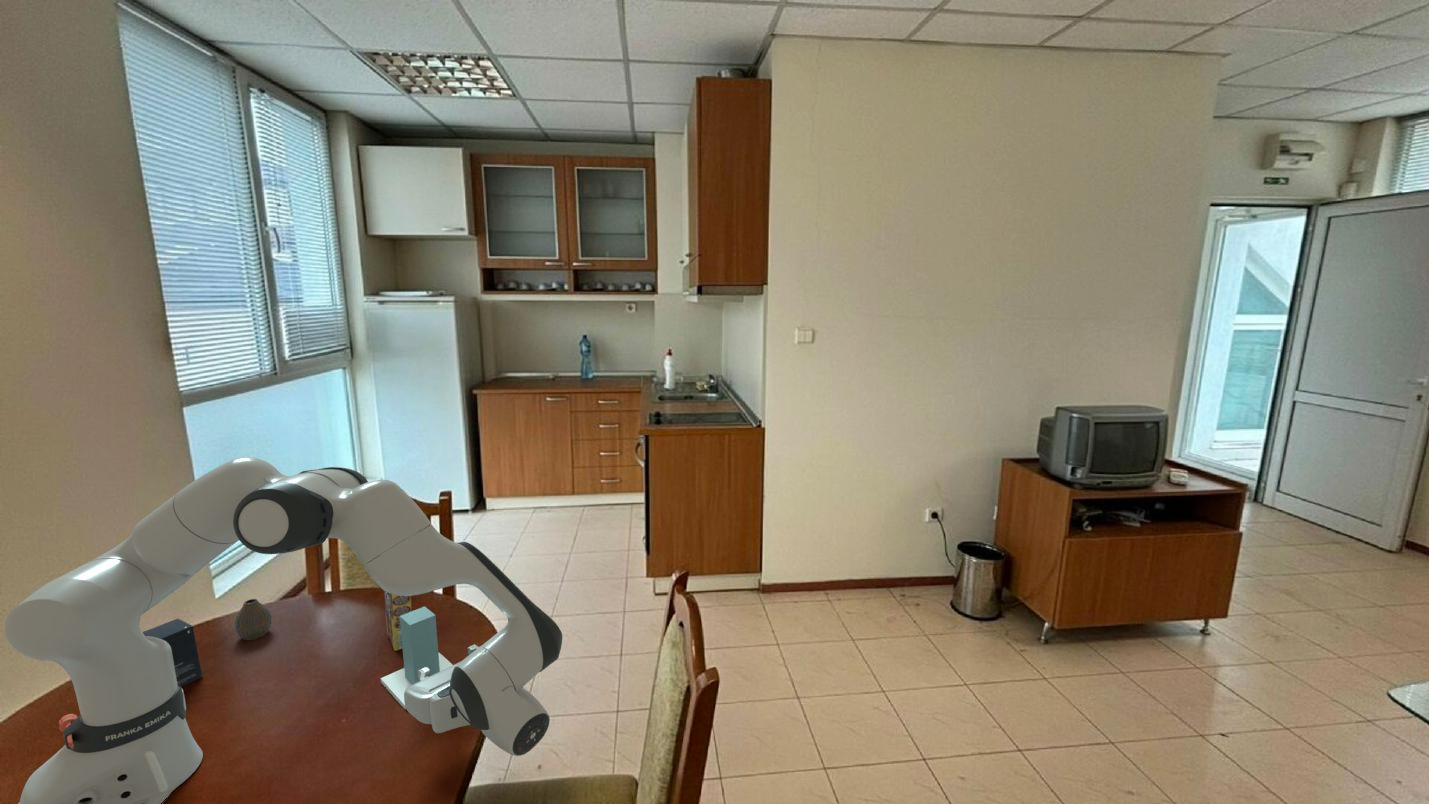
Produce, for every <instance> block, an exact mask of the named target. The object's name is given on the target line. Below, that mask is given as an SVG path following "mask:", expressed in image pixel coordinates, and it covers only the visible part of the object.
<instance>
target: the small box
mask: <svg viewBox="0 0 1429 804" xmlns="http://www.w3.org/2000/svg"><path fill="white" fill-rule="evenodd" d="M194 627H195V626H194V625H193V624H191V623H188V622H187V621H185V620H183V619H181V618H175V619H173V620H170V621H167V622H164V623H162V624H161V625H160V624H159V625H158V626H155V627H152V628H149V629H147V630H145V631H142V632H143V634H144V635H145V636H149V637H155V638H159V639H162V640H164V641H166V642H167V643H168V644H169V645H170V647H171V650H172V655H173V661H174V667H175V673H176V679H177V682H179V683H180V685H181V688H182V687H185V686H186V685H188V684H190V683H193V682H195V681H197V680H199V679H202V678H203V676H204V674H203V672H202V671H203V670H202V667H201V662H200V657H199V651H198V646H197V645H198V644H197V640H196V636H195V630H194V629H195V628H194Z"/></svg>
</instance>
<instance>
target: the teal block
mask: <svg viewBox="0 0 1429 804" xmlns="http://www.w3.org/2000/svg"><path fill="white" fill-rule="evenodd" d="M436 617H437V616H436V614H435V613H434V612H432V611H431V610H430V609H428V608H427V607H426V606H422V607H420V608H417V609H415V610H412V611H411V612H409V613H406V614H404V615H401V616H400V626H401V637H402V648H403V649H402V657H403V668H404V670H405V678H406V679H407V680H408V681H409V682H410V683H411V684H412V685H413V684H415V683H417V682H419V681H420V679H419V676H418V670H420V669H422V668H425V667H427V668H428V669H429V670H430V676H432V675H434V674H436V673H438V672H440V667H439V654H438V652H439V643H438V632H437V618H436Z"/></svg>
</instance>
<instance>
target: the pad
mask: <svg viewBox="0 0 1429 804" xmlns="http://www.w3.org/2000/svg"><path fill="white" fill-rule="evenodd" d="M438 654H439V667H440V671H442V670H444V669H446V668H448V667H451V666H453V665H454V664H453V663H451V661H449V660H448V659H447V658H446V657H445V656H444V655H443V654H442V653H440V652H439V651H438ZM380 683H381V685H382V686H383V687H384V688H385V687H386V688H385V689H386V691H388V692H389V694H390V695H392V697H393V698H394V699H395V701H396V702H398V704H400V706H401V707H402V708H403V710H407V709H406V707H405V701H404V692H405V690H406V688H407V687H409V686H411V685H412V684H411V683H410V682H409V681H408V680H407V679H406V678H405V670H404V667H402V668H401V669H399V670H397V671H393V672H392V673H390V674H388V675H385V676H383V677H380Z"/></svg>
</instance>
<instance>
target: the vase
mask: <svg viewBox="0 0 1429 804" xmlns="http://www.w3.org/2000/svg"><path fill="white" fill-rule="evenodd" d="M272 623H273V617H272V613H271V611H270V608H269V607H267V606H266V605H264V604H263V603H262V602H260V601H259V600H258V599H257V598H251V599H246V600H245V601H244V602H243V604H242V607H241V608H240V609H239V610H238V612H237V613H236V615H235V617H234V624H233V627H234V631H235V633H236V635H237V636H238V637H239V638H241V640H245V641H253V640H257V639H260V638H262V637H264V636H265V635H266V634H267V633H268V632H269V631H270V628H272V627H271V626H272Z"/></svg>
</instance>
